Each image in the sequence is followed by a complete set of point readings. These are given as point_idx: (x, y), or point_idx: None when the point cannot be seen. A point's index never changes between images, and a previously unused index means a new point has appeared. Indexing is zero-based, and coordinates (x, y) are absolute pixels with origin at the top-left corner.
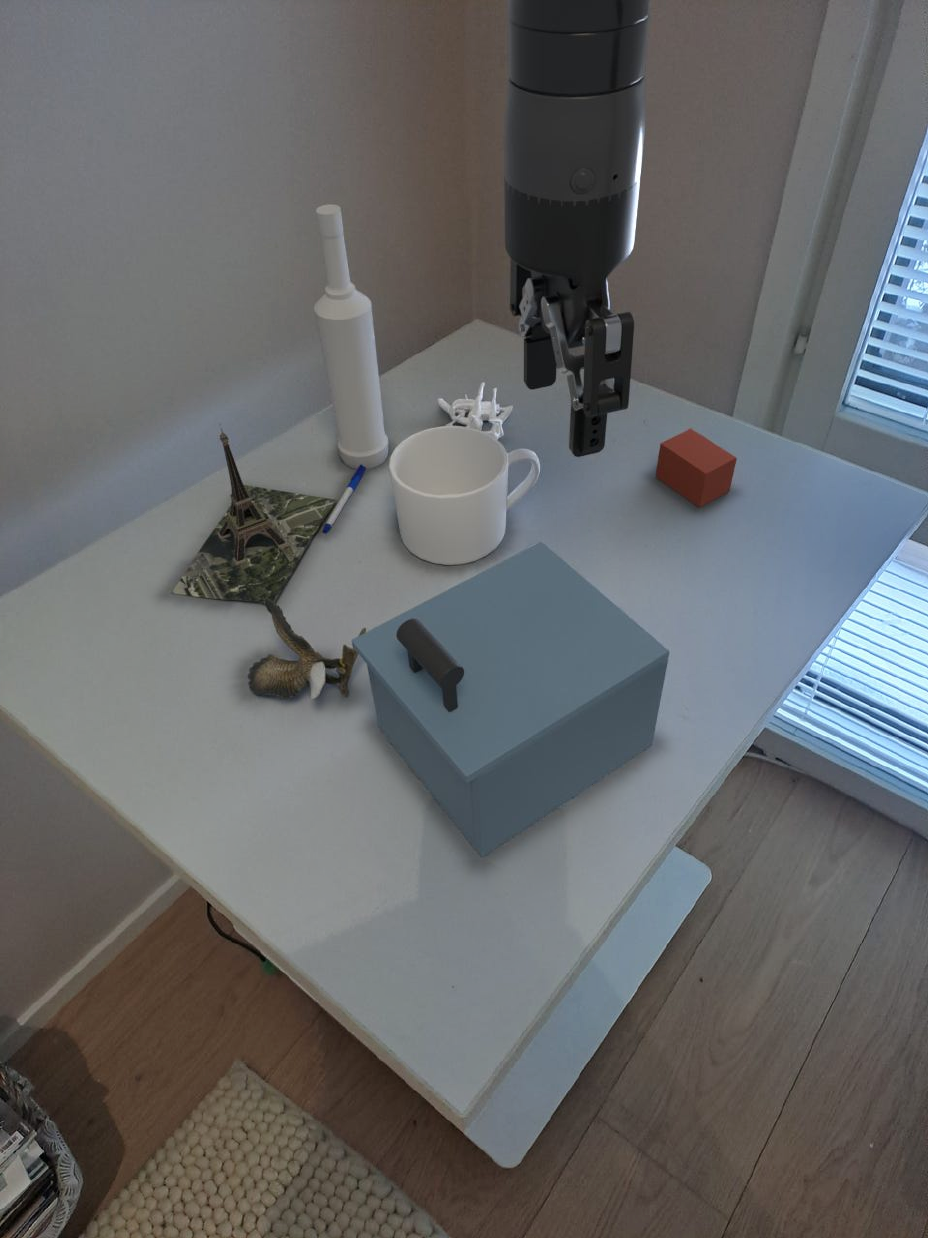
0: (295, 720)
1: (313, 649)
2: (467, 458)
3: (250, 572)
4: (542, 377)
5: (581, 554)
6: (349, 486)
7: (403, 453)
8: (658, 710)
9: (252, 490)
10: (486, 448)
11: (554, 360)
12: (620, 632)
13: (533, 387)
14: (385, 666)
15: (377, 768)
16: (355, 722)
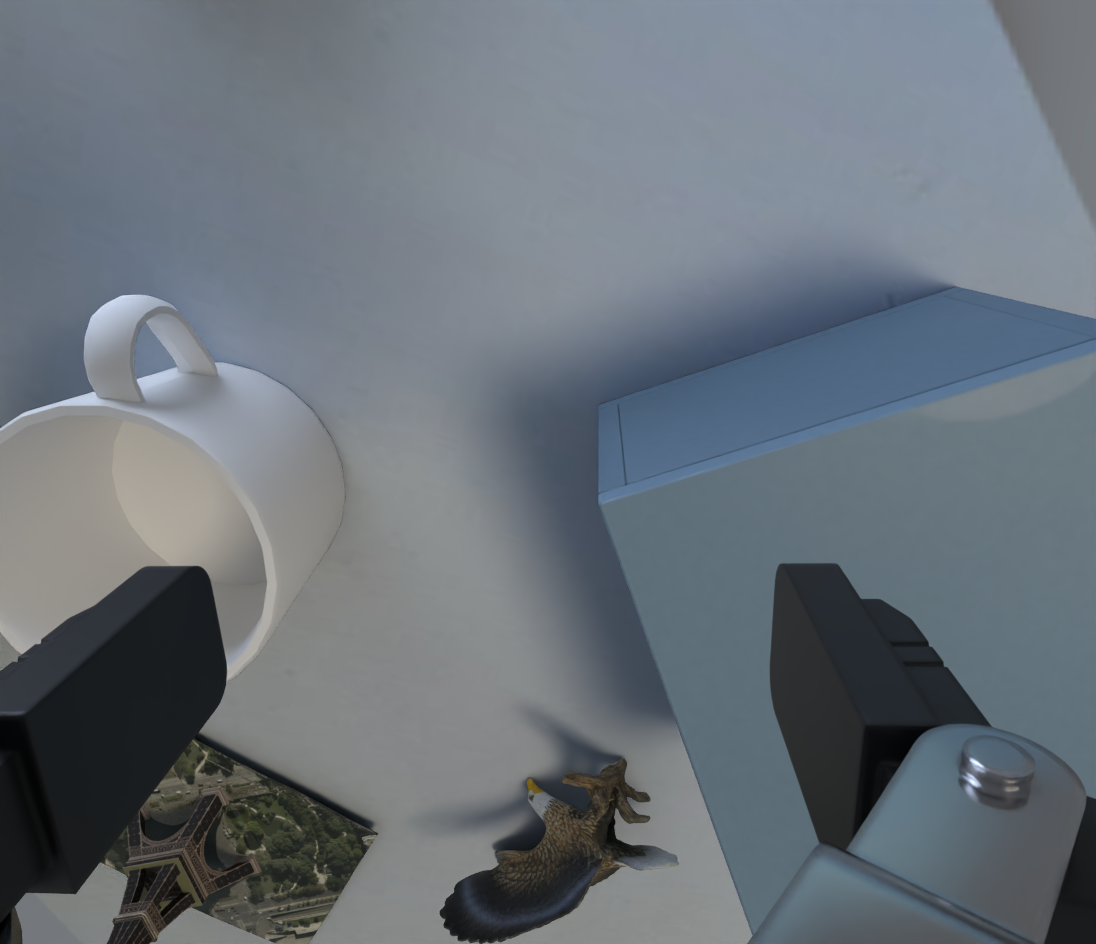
0: (644, 834)
1: (596, 873)
2: (48, 452)
3: (284, 852)
4: (193, 651)
5: (373, 218)
6: None
7: None
8: (1015, 300)
9: None
10: (46, 426)
11: (128, 635)
12: (1022, 432)
13: (222, 665)
14: None
15: None
16: (683, 757)
